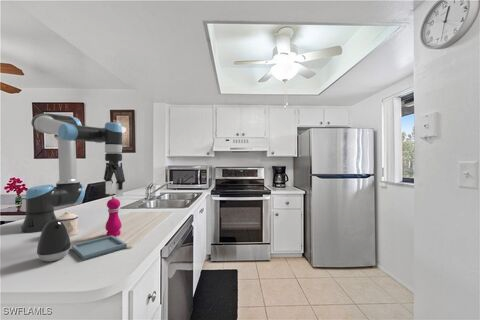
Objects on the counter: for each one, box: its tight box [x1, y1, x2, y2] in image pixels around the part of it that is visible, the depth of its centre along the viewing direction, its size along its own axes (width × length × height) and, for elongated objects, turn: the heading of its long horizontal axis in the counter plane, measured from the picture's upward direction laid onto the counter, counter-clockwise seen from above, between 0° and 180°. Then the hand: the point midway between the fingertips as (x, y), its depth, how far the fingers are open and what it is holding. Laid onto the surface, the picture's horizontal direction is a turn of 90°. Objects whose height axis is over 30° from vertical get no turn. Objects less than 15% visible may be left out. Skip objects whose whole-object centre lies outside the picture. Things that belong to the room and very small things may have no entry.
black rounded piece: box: [36, 220, 72, 262], centre depth 88 cm, size 10×10×15 cm
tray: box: [71, 235, 128, 262], centre depth 97 cm, size 16×16×2 cm
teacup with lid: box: [56, 211, 79, 237], centre depth 114 cm, size 12×9×12 cm
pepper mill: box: [104, 195, 123, 237], centre depth 115 cm, size 7×7×20 cm
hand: (113, 195), depth 114 cm, fingers open, 13 cm apart
